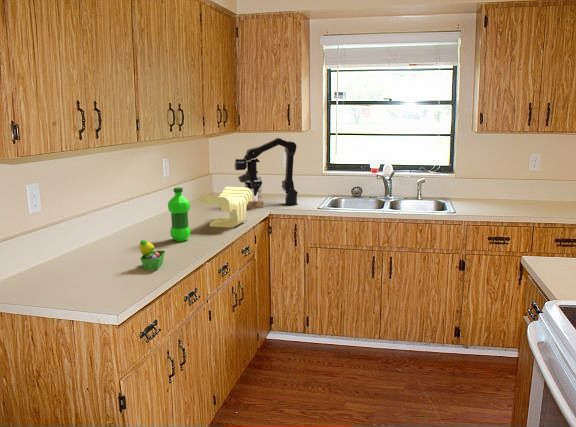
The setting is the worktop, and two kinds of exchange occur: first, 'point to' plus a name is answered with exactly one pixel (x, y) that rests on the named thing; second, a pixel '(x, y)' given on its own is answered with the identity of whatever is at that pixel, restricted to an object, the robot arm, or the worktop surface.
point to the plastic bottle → (179, 216)
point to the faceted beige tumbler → (254, 198)
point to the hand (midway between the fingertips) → (252, 194)
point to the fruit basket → (150, 256)
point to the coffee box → (258, 190)
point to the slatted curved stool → (230, 205)
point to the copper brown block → (255, 204)
